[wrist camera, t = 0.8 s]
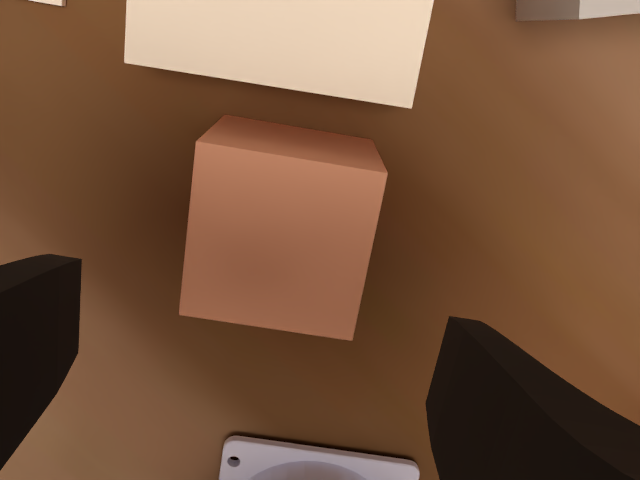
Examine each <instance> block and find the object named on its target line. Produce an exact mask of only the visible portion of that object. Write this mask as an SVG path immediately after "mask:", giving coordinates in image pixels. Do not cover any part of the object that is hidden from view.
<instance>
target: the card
mask: <svg viewBox="0 0 640 480" xmlns="http://www.w3.org/2000/svg"><path fill="white" fill-rule="evenodd" d="M30 1H36V2H42V3H47V4H53V5H58V6H66V0H30Z"/></svg>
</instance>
